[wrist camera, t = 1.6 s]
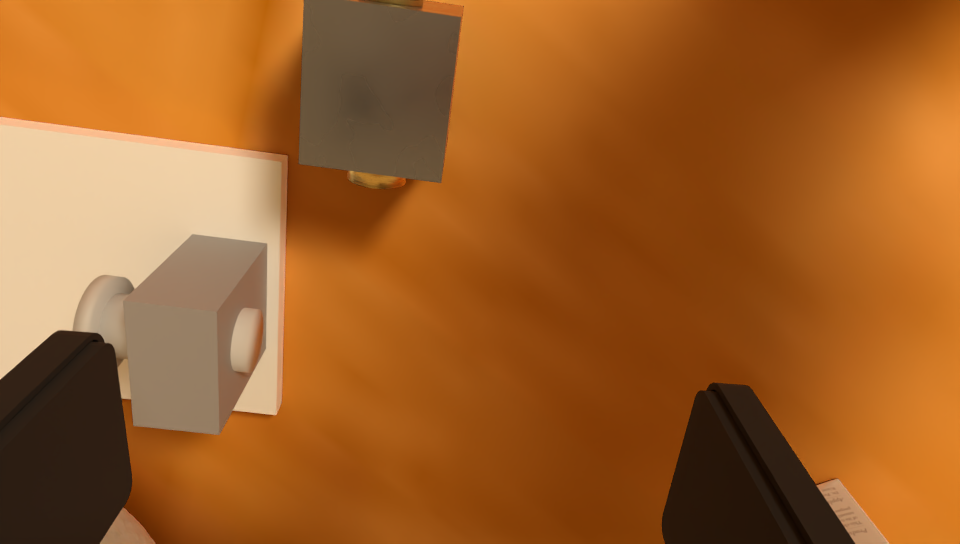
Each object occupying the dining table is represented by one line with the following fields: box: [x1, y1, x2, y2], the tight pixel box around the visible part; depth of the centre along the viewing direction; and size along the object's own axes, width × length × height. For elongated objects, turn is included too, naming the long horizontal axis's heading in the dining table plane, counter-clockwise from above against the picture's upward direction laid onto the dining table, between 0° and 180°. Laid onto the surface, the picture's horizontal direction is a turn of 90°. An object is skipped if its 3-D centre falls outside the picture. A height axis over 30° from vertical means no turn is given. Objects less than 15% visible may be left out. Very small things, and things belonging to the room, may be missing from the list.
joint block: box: [299, 0, 464, 189], centre depth 23 cm, size 7×4×6 cm
